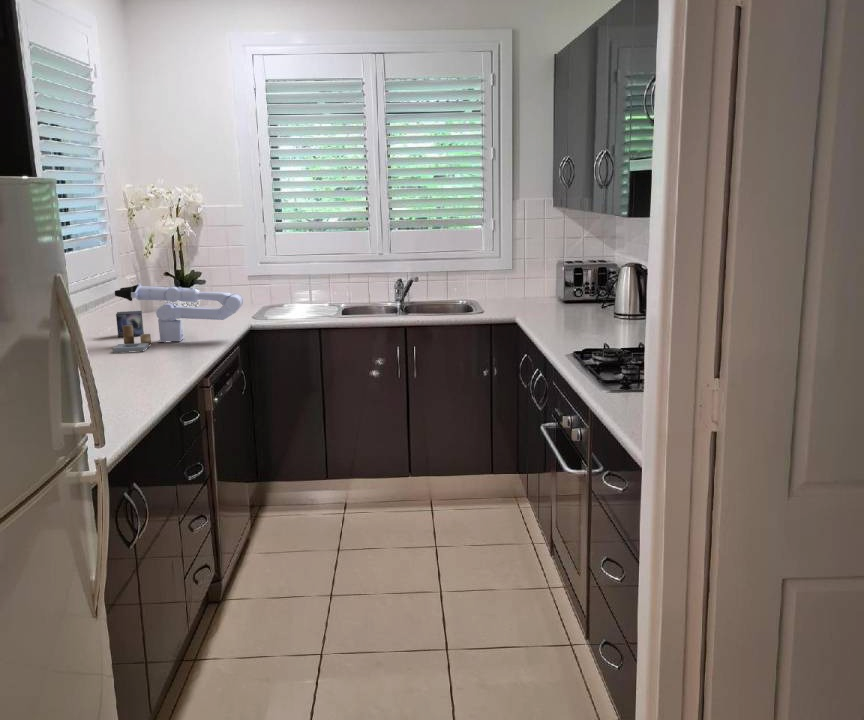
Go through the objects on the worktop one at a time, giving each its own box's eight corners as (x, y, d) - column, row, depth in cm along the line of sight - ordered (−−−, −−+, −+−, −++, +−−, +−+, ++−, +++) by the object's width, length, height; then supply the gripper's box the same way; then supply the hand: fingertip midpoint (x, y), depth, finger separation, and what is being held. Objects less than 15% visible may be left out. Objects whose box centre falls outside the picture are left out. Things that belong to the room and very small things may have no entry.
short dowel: (152, 344, 341) (151, 333, 340) (150, 346, 337) (149, 335, 336) (142, 344, 341) (141, 334, 340) (140, 346, 337) (139, 336, 336)
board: (149, 347, 334) (148, 343, 333) (144, 352, 326) (143, 347, 326) (119, 348, 333) (118, 344, 332) (113, 353, 325) (112, 348, 325)
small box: (117, 337, 357) (115, 314, 355) (119, 335, 363) (116, 311, 361) (143, 336, 360) (140, 312, 357) (144, 333, 366) (141, 310, 363)
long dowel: (135, 343, 343) (133, 325, 341) (133, 345, 339) (131, 326, 337) (125, 344, 343) (123, 325, 341) (123, 346, 339) (121, 327, 337)
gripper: (155, 281, 349) (122, 280, 347) (146, 286, 334) (112, 284, 333) (155, 298, 350) (122, 296, 349) (147, 303, 336) (112, 301, 335)
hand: (117, 291), depth 341 cm, fingers open, 7 cm apart
